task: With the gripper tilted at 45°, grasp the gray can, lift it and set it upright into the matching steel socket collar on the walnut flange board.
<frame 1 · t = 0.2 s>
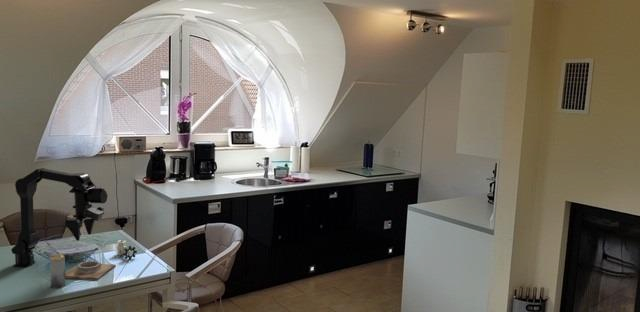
hand: (83, 237, 222), 14 cm above the table, tool pointing down, fingers open, 9 cm apart
valve: (125, 256, 242), on the table
flange board: (89, 272, 220), on the table
gray can: (58, 285, 204), on the table
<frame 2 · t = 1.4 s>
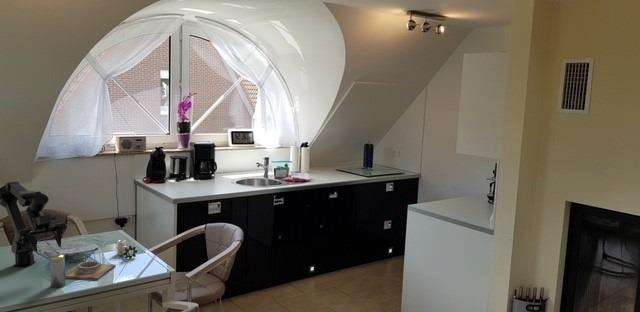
hand: (48, 249, 208), 13 cm above the table, tool tilted 45°, fingers open, 9 cm apart
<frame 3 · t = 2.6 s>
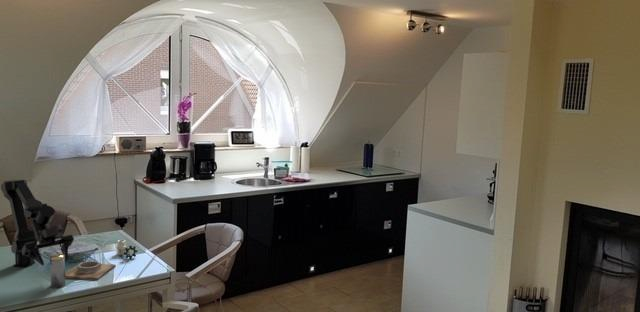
hand: (55, 262, 204), 9 cm above the table, tool tilted 45°, fingers open, 9 cm apart
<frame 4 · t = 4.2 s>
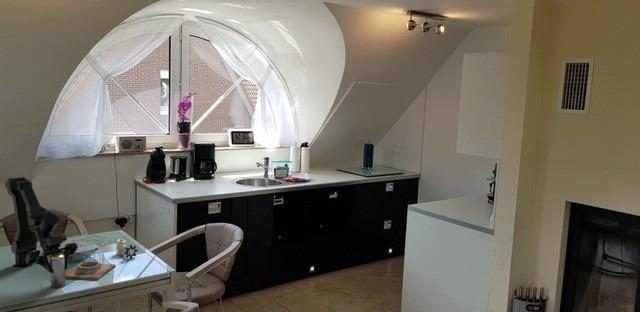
hand: (59, 270, 203), 7 cm above the table, tool tilted 45°, fingers closed on gray can, 5 cm apart
gray can: (58, 285, 204), on the table, touching gripper
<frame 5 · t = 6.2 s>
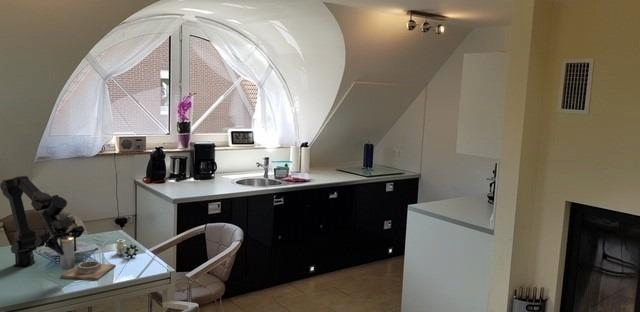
hand: (69, 252, 206), 13 cm above the table, tool tilted 45°, fingers closed on gray can, 5 cm apart
gray can: (67, 267, 207), point 6 cm above the table, touching gripper
when the fingers open (9 cm above the table, at t = 8.6 s): gray can drops 1 cm, resting on flange board.
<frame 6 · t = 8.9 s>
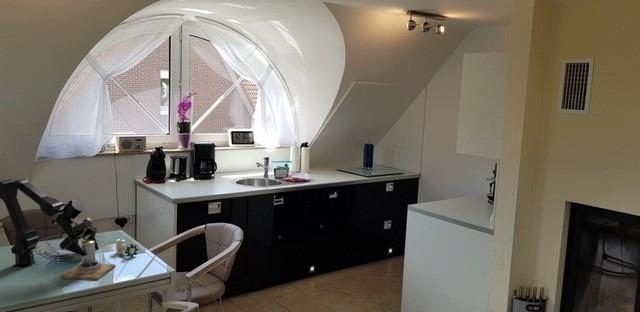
hand: (91, 252, 219), 9 cm above the table, tool tilted 45°, fingers open, 9 cm apart
gray can: (88, 269, 220), point 1 cm above the table, touching flange board
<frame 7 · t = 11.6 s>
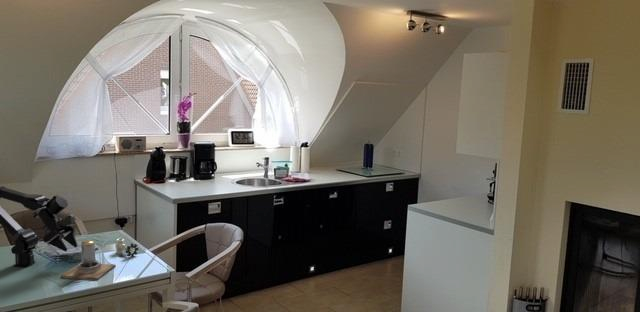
hand: (71, 248, 221), 9 cm above the table, tool tilted 40°, fingers open, 9 cm apart
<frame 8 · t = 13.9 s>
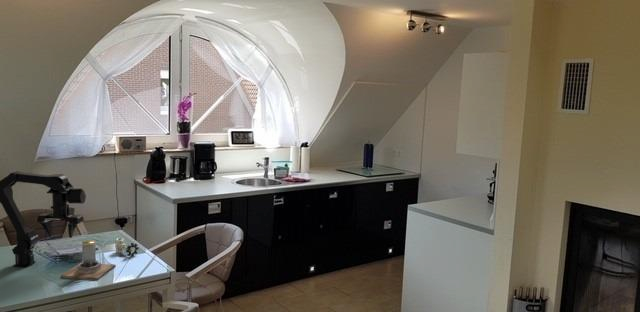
hand: (60, 237, 225), 13 cm above the table, tool pointing down, fingers open, 9 cm apart
at the end: gray can 0.1 cm off-centre on the flange board, point 1.1 cm above the flange board's base; gray can tilted 1°; the gripper is holding nothing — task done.
